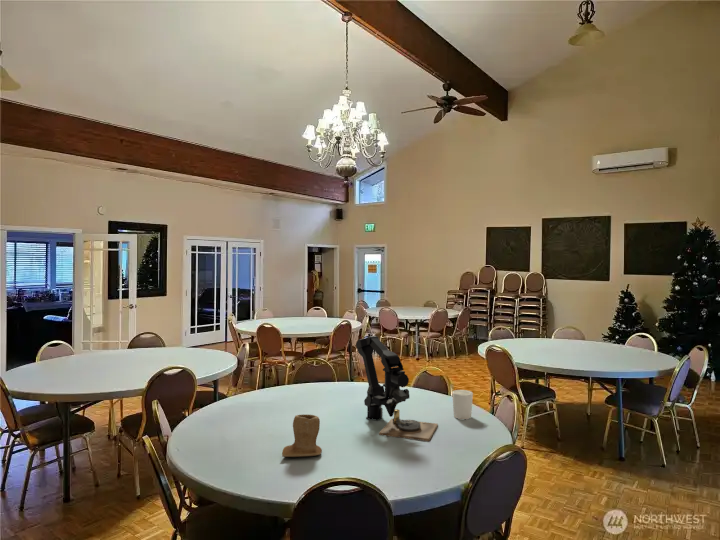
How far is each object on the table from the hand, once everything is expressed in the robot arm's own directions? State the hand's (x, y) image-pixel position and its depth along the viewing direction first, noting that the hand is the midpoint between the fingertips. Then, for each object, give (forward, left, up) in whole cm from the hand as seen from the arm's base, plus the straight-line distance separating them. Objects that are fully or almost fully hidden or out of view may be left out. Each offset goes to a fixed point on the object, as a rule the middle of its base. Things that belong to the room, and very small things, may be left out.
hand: (391, 416), depth 210 cm
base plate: (+9, -1, -5) cm, 10 cm away
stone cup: (-24, -41, -5) cm, 48 cm away
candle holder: (+29, +26, -5) cm, 39 cm away
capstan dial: (+7, 0, -4) cm, 8 cm away
